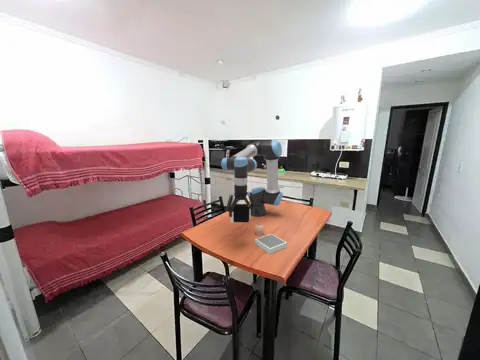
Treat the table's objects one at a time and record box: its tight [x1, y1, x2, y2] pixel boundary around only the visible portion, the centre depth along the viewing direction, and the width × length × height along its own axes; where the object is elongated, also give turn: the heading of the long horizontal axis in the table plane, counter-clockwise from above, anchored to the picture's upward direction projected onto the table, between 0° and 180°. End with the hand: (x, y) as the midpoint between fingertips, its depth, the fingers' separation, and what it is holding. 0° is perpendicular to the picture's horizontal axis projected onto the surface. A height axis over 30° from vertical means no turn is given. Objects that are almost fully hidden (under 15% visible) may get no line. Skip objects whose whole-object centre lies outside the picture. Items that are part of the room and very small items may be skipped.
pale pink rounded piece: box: [254, 223, 265, 237], centre depth 141 cm, size 6×6×6 cm
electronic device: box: [233, 203, 250, 223], centre depth 119 cm, size 4×10×10 cm, turn 88°
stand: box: [254, 233, 288, 255], centre depth 126 cm, size 14×14×3 cm
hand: (240, 220), depth 120 cm, fingers closed on electronic device, 11 cm apart
